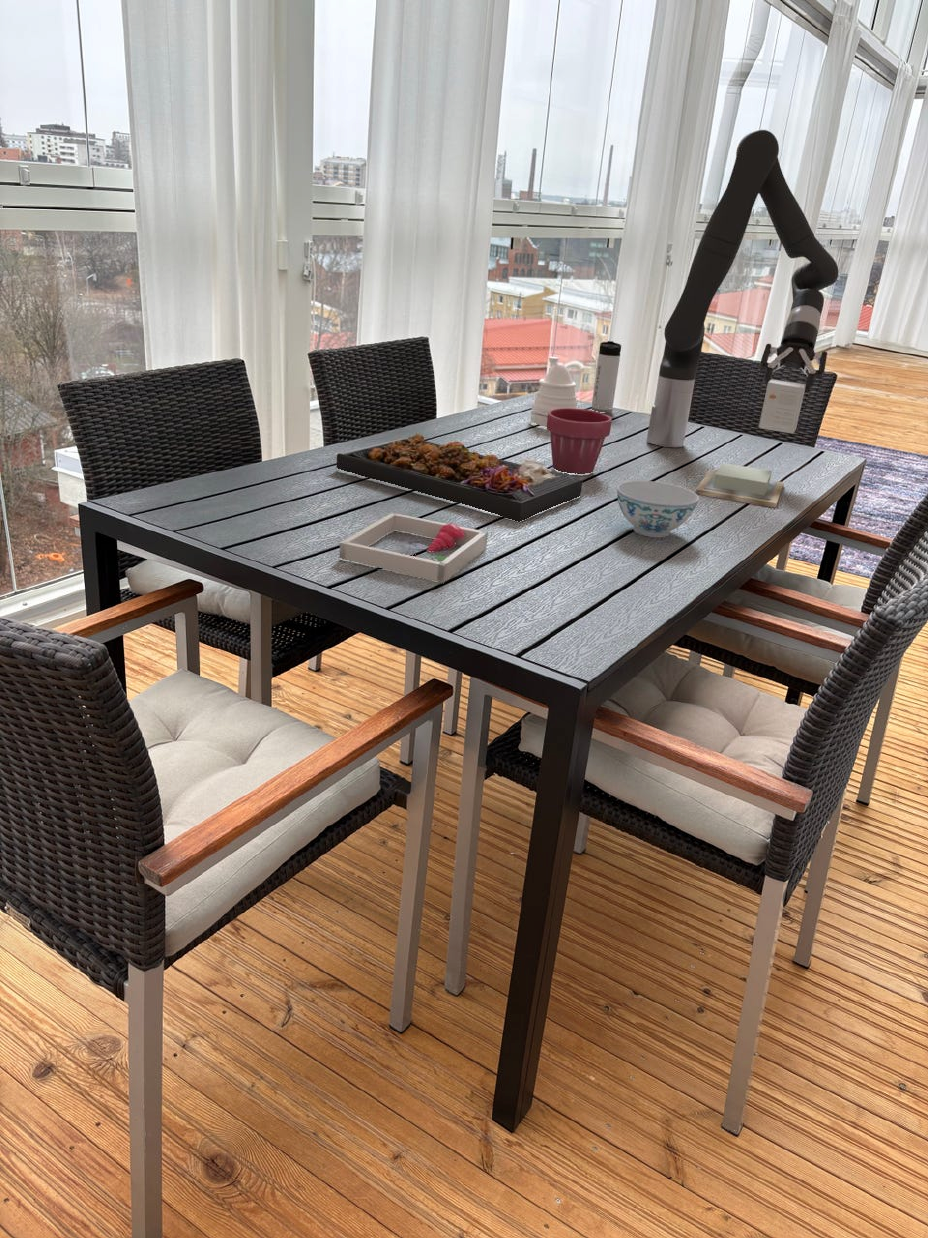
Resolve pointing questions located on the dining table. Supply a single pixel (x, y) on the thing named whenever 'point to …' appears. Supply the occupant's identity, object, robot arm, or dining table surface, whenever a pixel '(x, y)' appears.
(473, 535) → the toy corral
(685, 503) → the chinaware
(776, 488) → the board
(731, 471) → the plinth
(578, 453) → the plant pot
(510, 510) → the food platter
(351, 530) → the dining table surface
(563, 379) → the honey pot
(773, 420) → the small box
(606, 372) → the travel mug
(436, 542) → the toy pieces
